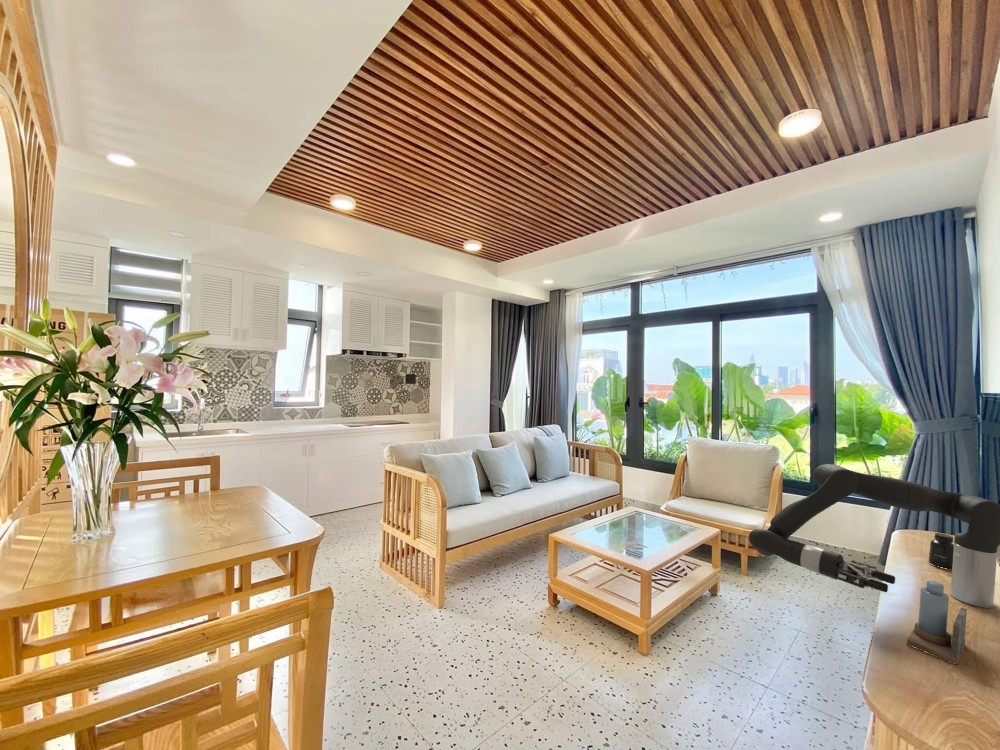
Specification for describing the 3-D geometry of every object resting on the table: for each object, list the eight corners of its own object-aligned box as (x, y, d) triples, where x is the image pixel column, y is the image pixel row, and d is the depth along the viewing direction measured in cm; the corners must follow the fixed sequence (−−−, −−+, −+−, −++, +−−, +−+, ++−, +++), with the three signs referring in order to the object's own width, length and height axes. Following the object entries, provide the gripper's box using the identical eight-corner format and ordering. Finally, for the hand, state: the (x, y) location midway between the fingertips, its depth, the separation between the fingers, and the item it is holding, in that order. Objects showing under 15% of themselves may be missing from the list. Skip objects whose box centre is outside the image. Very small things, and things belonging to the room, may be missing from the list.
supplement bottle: (934, 568, 160) (937, 536, 160) (924, 560, 166) (926, 530, 166) (959, 572, 157) (961, 540, 157) (947, 564, 164) (950, 533, 164)
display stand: (917, 627, 120) (920, 594, 120) (964, 644, 113) (967, 609, 113) (906, 645, 112) (909, 609, 111) (957, 665, 104) (959, 627, 104)
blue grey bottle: (920, 621, 117) (923, 577, 116) (947, 631, 112) (950, 585, 112) (916, 628, 113) (919, 582, 113) (944, 638, 109) (947, 590, 109)
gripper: (814, 554, 128) (886, 577, 115) (829, 544, 136) (898, 565, 124) (812, 579, 128) (884, 605, 115) (828, 567, 137) (896, 590, 124)
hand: (891, 584), depth 119 cm, fingers open, 8 cm apart
